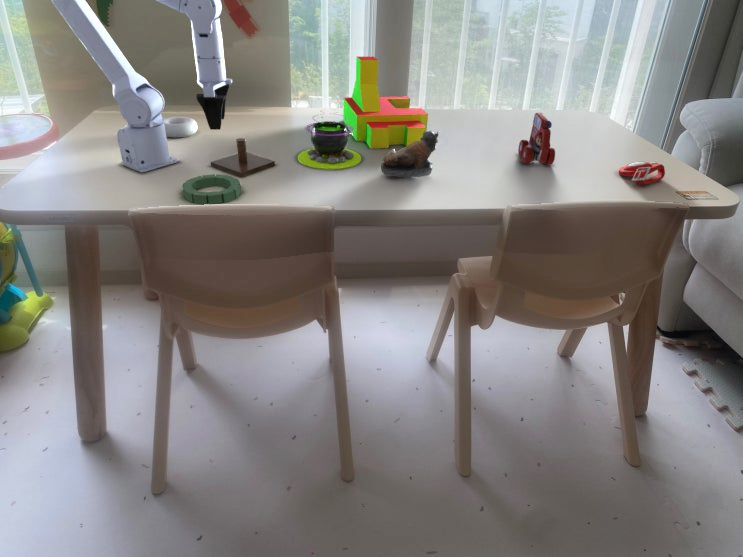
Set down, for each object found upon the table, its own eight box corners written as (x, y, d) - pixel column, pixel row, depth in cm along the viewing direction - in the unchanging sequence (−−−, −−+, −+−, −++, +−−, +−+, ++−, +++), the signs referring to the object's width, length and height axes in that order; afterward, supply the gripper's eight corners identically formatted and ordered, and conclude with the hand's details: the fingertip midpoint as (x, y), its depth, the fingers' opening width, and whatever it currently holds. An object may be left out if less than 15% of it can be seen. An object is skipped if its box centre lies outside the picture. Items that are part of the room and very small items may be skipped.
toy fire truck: (525, 168, 125) (534, 124, 119) (515, 151, 135) (523, 110, 130) (555, 169, 125) (565, 125, 119) (543, 152, 135) (552, 111, 130)
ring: (250, 197, 105) (249, 188, 104) (194, 209, 99) (193, 200, 98) (228, 178, 112) (227, 170, 111) (175, 188, 107) (173, 180, 106)
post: (241, 177, 113) (238, 150, 110) (210, 166, 118) (207, 139, 115) (275, 165, 120) (273, 139, 117) (244, 155, 125) (242, 130, 122)
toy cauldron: (372, 156, 128) (374, 109, 122) (338, 174, 117) (338, 124, 111) (321, 144, 134) (321, 99, 128) (284, 160, 123) (282, 112, 117)
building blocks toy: (361, 148, 132) (363, 71, 123) (343, 120, 153) (344, 53, 143) (432, 146, 136) (440, 71, 127) (405, 119, 157) (410, 53, 147)
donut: (189, 141, 133) (204, 129, 141) (187, 127, 131) (202, 116, 139) (151, 138, 133) (168, 126, 142) (148, 124, 132) (165, 113, 140)
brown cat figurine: (380, 180, 115) (382, 134, 110) (380, 168, 121) (382, 124, 116) (435, 182, 115) (440, 136, 110) (432, 171, 121) (437, 127, 116)
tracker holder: (609, 165, 126) (651, 155, 125) (611, 183, 127) (652, 173, 127) (636, 171, 114) (682, 161, 114) (637, 191, 116) (682, 181, 115)
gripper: (226, 63, 102) (233, 133, 109) (232, 50, 114) (238, 114, 121) (188, 63, 101) (198, 133, 108) (198, 50, 113) (206, 114, 120)
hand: (217, 123), depth 114 cm, fingers open, 7 cm apart
